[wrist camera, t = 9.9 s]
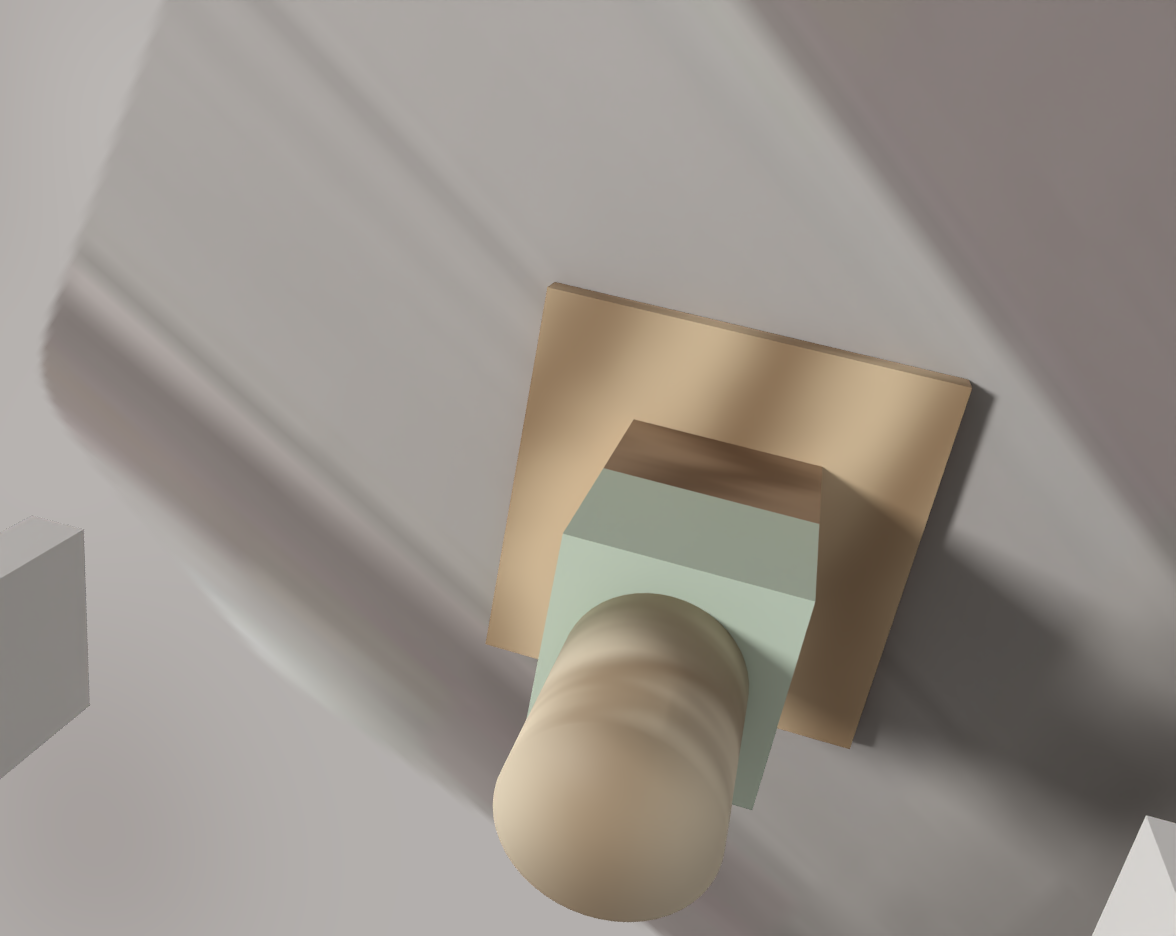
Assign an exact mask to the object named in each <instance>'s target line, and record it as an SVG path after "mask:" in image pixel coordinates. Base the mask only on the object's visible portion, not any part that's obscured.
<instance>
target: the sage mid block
mask: <svg viewBox="0 0 1176 936" xmlns="http://www.w3.org/2000/svg"><path fill="white" fill-rule="evenodd" d="M818 540H819V524H817V523H813V522H809V521H806V520H802V519H798V518H794V517H790V516H786V515H782V514H779V513H775V512H771V511H767V510H763V509H759V508H755V507H752V506H748V505H744V504H740V503H736V502H732V501H728V500H724V499H721V498H717V497H713V496H709V495H705V494H701V493H697V492H694V491H690V490H686V489H682V488H678V487H674V486H670V485H666V484H663V483H659V482H655V481H651V480H647V479H643V478H639V477H636V476H632V475H628V474H624V473H620V472H616V471H612V470H609V469H605V468H603V470H602V471H601V473H600V474H599V476H598V478H597V479H596V481H595V482H594V484H593V486H592V487H591V489H590V490H589V492H588V494H587V495H586V497H585V499H584V500H583V502H582V503H581V505H580V507H579V508H578V510H577V511H576V513H575V515H574V516H573V518H572V520H571V521H570V523H569V524H568V526H567V528H566V529H565V531H564V532H563V535H562V540H561V545H560V550H559V556H558V561H557V566H556V571H555V576H554V581H553V586H552V592H551V597H550V602H549V607H548V612H547V617H546V622H545V627H544V633H543V638H542V643H541V648H540V653H539V658H538V663H537V669H536V674H535V679H534V684H533V689H532V694H531V699H530V704H529V710H528V715H527V718H528V716H529V714H530V712H531V710H532V708H533V706H534V704H535V702H536V700H537V698H538V696H539V694H540V692H541V690H542V687H543V685H544V683H545V681H546V679H547V677H548V675H549V673H550V671H551V669H552V667H553V665H554V663H555V661H556V659H557V657H558V655H559V653H560V651H561V649H562V647H563V645H564V643H565V641H566V639H567V637H568V635H569V633H570V632H571V630H572V629H573V627H574V625H575V624H576V623H577V622H578V621H579V620H580V618H581V617H582V616H583V615H585V614H586V613H587V612H588V611H589V610H591V609H592V608H594V607H595V606H597V605H599V604H600V603H602V602H605V601H607V600H609V599H612V598H615V597H618V596H622V595H627V594H634V593H654V594H662V595H667V596H672V597H675V598H678V599H681V600H684V601H687V602H689V603H691V604H693V605H695V606H697V607H699V608H701V609H702V610H704V611H705V612H707V613H708V614H710V615H711V616H712V617H713V618H715V619H716V620H717V621H718V622H719V623H720V624H721V625H722V626H723V627H724V628H725V629H726V630H727V631H728V632H729V633H730V635H731V636H732V637H733V639H734V640H735V642H736V643H737V645H738V647H739V649H740V650H741V653H742V655H743V658H744V660H745V663H746V667H747V671H748V678H749V696H748V702H747V709H746V715H745V722H744V728H743V735H742V741H741V748H740V754H739V761H738V767H737V774H736V780H735V787H734V793H733V800H732V804H733V805H736V806H740V807H743V808H746V809H750V810H752V809H753V805H754V802H755V799H756V796H757V792H758V789H759V786H760V782H761V779H762V776H763V772H764V769H765V766H766V763H767V759H768V756H769V753H770V749H771V746H772V743H773V739H774V736H775V733H776V730H777V726H778V723H779V720H780V716H781V713H782V710H783V707H784V703H785V700H786V697H787V693H788V690H789V687H790V683H791V680H792V677H793V674H794V670H795V667H796V664H797V660H798V657H799V654H800V650H801V647H802V644H803V641H804V637H805V634H806V631H807V627H808V624H809V621H810V617H811V614H812V611H813V608H814V604H815V598H816V579H817V559H818Z"/></svg>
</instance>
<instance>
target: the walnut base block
mask: <svg viewBox="0 0 1176 936" xmlns="http://www.w3.org/2000/svg"><path fill="white" fill-rule="evenodd" d="M604 468H605V469H609V470H612V471H616V472H620V473H624V474H628V475H632V476H636V477H639V478H643V479H647V480H651V481H655V482H659V483H663V484H666V485H670V486H674V487H678V488H682V489H686V490H690V491H694V492H697V493H701V494H705V495H709V496H713V497H717V498H721V499H724V500H728V501H732V502H736V503H740V504H744V505H748V506H752V507H755V508H759V509H763V510H767V511H771V512H775V513H779V514H782V515H786V516H790V517H794V518H798V519H802V520H806V521H809V522H813V523H817V524H819V523H820V504H821V484H822V467H821V466H818V465H814V464H810V463H806V462H802V461H798V460H794V459H790V458H786V457H782V456H778V455H774V454H770V453H766V452H762V451H758V450H754V449H750V448H746V447H742V446H738V445H734V444H730V443H726V442H722V441H718V440H714V439H710V438H706V437H702V436H698V435H694V434H690V433H687V432H683V431H679V430H675V429H671V428H667V427H663V426H659V425H655V424H651V423H647V422H643V421H639V420H635V419H634V420H633V421H632V423H631V424H630V426H629V428H628V429H627V431H626V432H625V434H624V436H623V437H622V439H621V441H620V442H619V444H618V445H617V447H616V449H615V450H614V452H613V453H612V455H611V457H610V458H609V460H608V462H607V463H606V465H605V466H604Z"/></svg>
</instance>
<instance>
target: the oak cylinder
mask: <svg viewBox="0 0 1176 936" xmlns="http://www.w3.org/2000/svg"><path fill="white" fill-rule="evenodd" d="M748 696H749V678H748V671H747V667H746V663H745V660H744V658H743V655H742V653H741V650H740V649H739V647H738V645H737V643H736V642H735V640H734V639H733V637H732V636H731V635H730V633H729V632H728V631H727V630H726V629H725V628H724V627H723V626H722V625H721V624H720V623H719V622H718V621H717V620H716V619H715V618H713V617H712V616H711V615H710V614H708V613H707V612H705V611H704V610H702V609H701V608H699V607H697V606H695V605H693V604H691V603H689V602H687V601H684V600H681V599H678V598H675V597H672V596H667V595H662V594H654V593H634V594H627V595H622V596H618V597H615V598H612V599H609V600H607V601H605V602H602V603H600V604H599V605H597V606H595V607H594V608H592V609H591V610H589V611H588V612H587V613H586V614H585V615H583V616H582V617H581V618H580V620H579V621H578V622H577V623H576V624H575V625H574V627H573V629H572V630H571V632H570V633H569V635H568V637H567V639H566V641H565V643H564V645H563V647H562V649H561V651H560V653H559V655H558V657H557V659H556V661H555V663H554V665H553V667H552V669H551V671H550V673H549V675H548V677H547V679H546V681H545V683H544V685H543V687H542V690H541V692H540V694H539V696H538V698H537V700H536V702H535V704H534V706H533V708H532V710H531V712H530V714H529V716H528V718H527V720H526V722H525V724H524V726H523V728H522V730H521V732H520V734H519V736H518V738H517V740H516V742H515V744H514V746H513V748H512V750H511V752H510V754H509V756H508V758H507V760H506V762H505V764H504V766H503V768H502V770H501V773H500V775H499V777H498V779H497V783H496V786H495V790H494V797H493V816H494V822H495V827H496V830H497V833H498V836H499V839H500V842H501V844H502V846H503V848H504V850H505V852H506V854H507V855H508V857H509V859H510V860H511V862H512V863H513V864H514V866H515V867H516V868H517V869H518V871H519V872H520V873H521V874H522V876H523V877H524V878H525V879H527V881H528V882H529V883H531V884H532V885H533V886H534V887H535V888H536V889H538V890H539V891H540V892H541V893H543V894H544V895H546V896H547V897H549V898H550V899H552V900H553V901H555V902H556V903H558V904H560V905H562V906H564V907H566V908H568V909H570V910H573V911H576V912H578V913H581V914H583V915H587V916H590V917H594V918H598V919H604V920H610V921H618V922H639V921H647V920H653V919H658V918H661V917H665V916H668V915H671V914H673V913H675V912H677V911H680V910H682V909H684V908H685V907H687V906H688V905H690V904H691V903H693V902H694V901H695V900H697V899H698V898H699V897H700V896H701V895H702V894H703V893H704V892H705V891H706V890H707V889H708V887H709V886H710V885H711V884H712V882H713V880H714V879H715V877H716V875H717V874H718V871H719V869H720V866H721V864H722V861H723V856H724V851H725V846H726V839H727V833H728V826H729V820H730V813H731V807H732V800H733V793H734V787H735V780H736V774H737V767H738V761H739V754H740V748H741V741H742V735H743V728H744V722H745V715H746V709H747V702H748Z"/></svg>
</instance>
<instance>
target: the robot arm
mask: <svg viewBox="0 0 1176 936" xmlns="http://www.w3.org/2000/svg"><path fill="white" fill-rule="evenodd" d="M88 706H90V703H89V673H88V644H87V613H86V584H85V554H84V529H81V528H77V527H73V526H69V525H65V524H62V523H58V522H55V521H51V520H47V519H43V518H40V517H36V516H33V515H32V516H30V517H28V518H26V519H24V520H22V521H20V522H18V523H17V524H15V525H13V526H11V527H9V528H7V529H6V530H4V531H2V532H0V779H1V778H2V777H3V776H5V775H6V774H7V773H8V772H9V771H11V770H12V769H13V768H14V767H15V766H17V765H18V764H19V763H20V762H22V761H23V760H24V759H25V758H26V757H28V756H29V755H30V754H31V753H33V752H34V751H35V750H36V749H37V748H39V747H40V746H41V745H42V744H43V743H45V742H46V741H47V740H48V739H49V738H51V737H52V736H53V735H54V734H56V733H57V732H58V731H59V730H60V729H62V728H63V727H64V726H65V725H67V724H68V723H69V722H70V721H71V720H73V719H74V718H75V717H76V716H78V715H79V714H80V713H81V712H82V711H84V710H85V709H86V708H87V707H88ZM1092 936H1176V823H1173V822H1169V821H1165V820H1162V819H1158V818H1154V817H1151V816H1147V815H1146V817H1145V819H1144V821H1143V823H1142V826H1141V828H1140V830H1139V832H1138V835H1137V837H1136V839H1135V841H1134V843H1133V846H1132V848H1131V850H1130V852H1129V855H1128V857H1127V859H1126V861H1125V864H1124V866H1123V868H1122V870H1121V872H1120V875H1119V877H1118V879H1117V881H1116V884H1115V886H1114V888H1113V890H1112V893H1111V895H1110V897H1109V899H1108V901H1107V904H1106V906H1105V908H1104V910H1103V913H1102V915H1101V917H1100V919H1099V922H1098V924H1097V926H1096V928H1095V930H1094V933H1093V935H1092Z"/></svg>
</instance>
